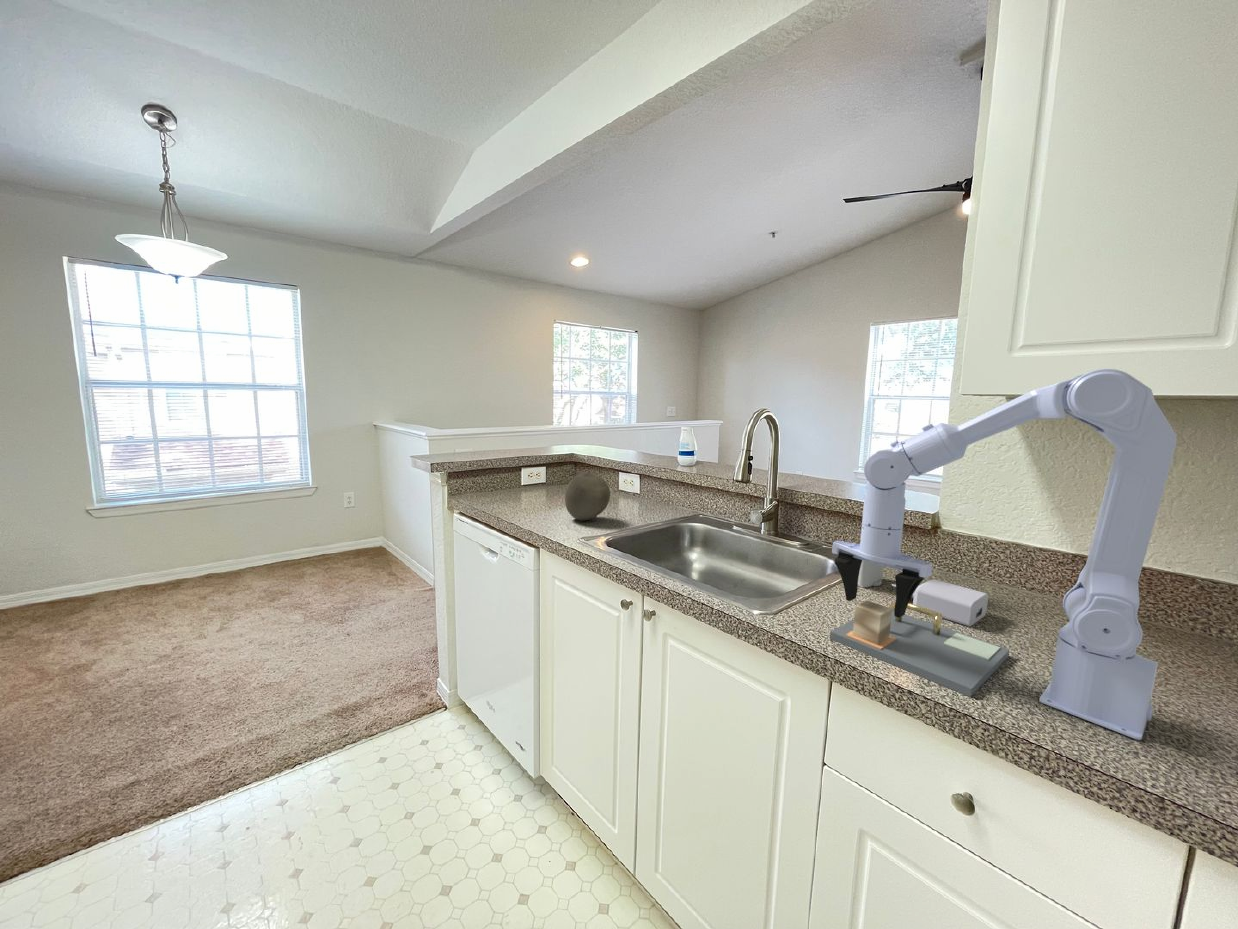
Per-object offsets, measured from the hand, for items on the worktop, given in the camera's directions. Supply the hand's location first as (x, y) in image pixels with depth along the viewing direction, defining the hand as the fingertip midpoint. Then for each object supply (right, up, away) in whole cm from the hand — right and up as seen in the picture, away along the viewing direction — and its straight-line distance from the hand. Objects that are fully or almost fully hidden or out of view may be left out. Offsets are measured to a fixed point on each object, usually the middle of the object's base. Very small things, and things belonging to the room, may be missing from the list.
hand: (874, 607), depth 79 cm
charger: (+20, -5, +17) cm, 27 cm away
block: (0, -5, +1) cm, 5 cm away
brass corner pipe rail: (+8, -5, +3) cm, 10 cm away
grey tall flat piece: (+14, -3, +29) cm, 32 cm away
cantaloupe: (-52, +5, +77) cm, 93 cm away
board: (+7, -7, 0) cm, 10 cm away
